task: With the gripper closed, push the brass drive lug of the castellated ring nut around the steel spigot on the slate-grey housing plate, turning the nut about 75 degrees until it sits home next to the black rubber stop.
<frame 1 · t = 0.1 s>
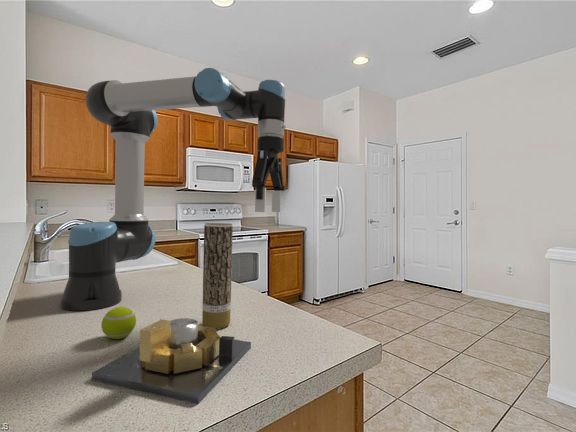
hand: (268, 212, 92), 28 cm above the counter, fingers open, 13 cm apart
bark textured cylinder: (216, 325, 79), on the counter
housing: (180, 362, 60), on the counter
tennis ball: (118, 338, 70), on the counter
ring nut: (176, 336, 58), point 5 cm above the counter, hinge at 0.0°
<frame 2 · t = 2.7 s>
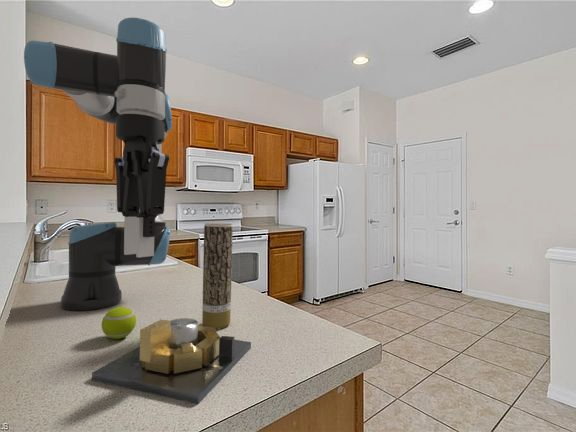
hand: (138, 254, 55), 21 cm above the counter, fingers open, 3 cm apart
nothing on the counter moved.
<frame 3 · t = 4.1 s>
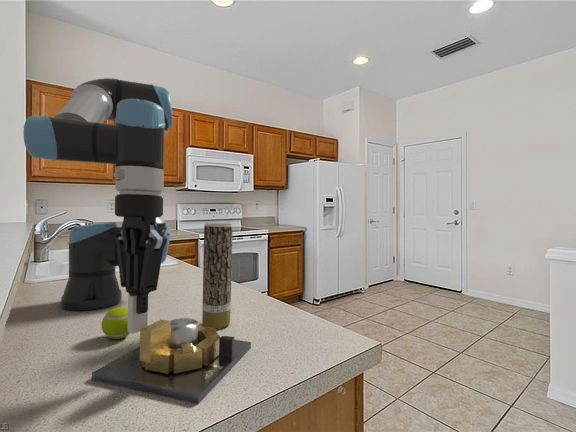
hand: (137, 330, 55), 7 cm above the counter, fingers closed
nothing on the counter moved.
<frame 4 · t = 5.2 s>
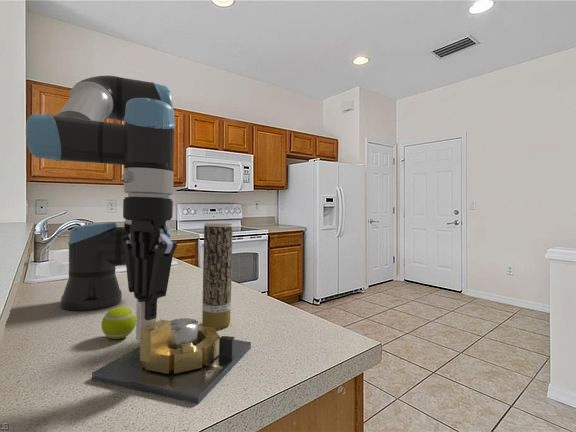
hand: (146, 337, 53), 7 cm above the counter, fingers closed
ring nut: (176, 336, 58), point 5 cm above the counter, hinge at 0.4°, touching gripper
everything else where it was.
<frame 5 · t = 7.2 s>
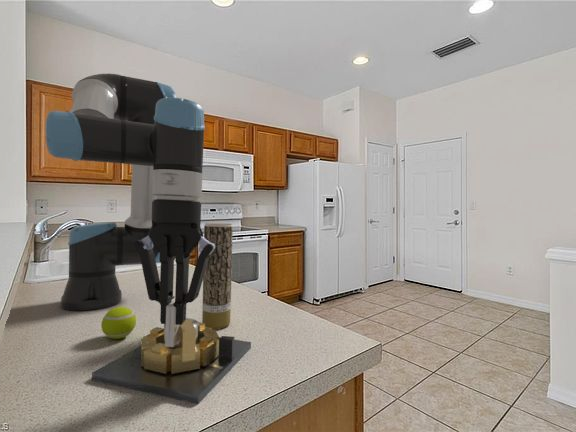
hand: (172, 343, 52), 7 cm above the counter, fingers closed
ring nut: (182, 336, 58), point 5 cm above the counter, hinge at 41.8°, touching gripper
everything else where it was.
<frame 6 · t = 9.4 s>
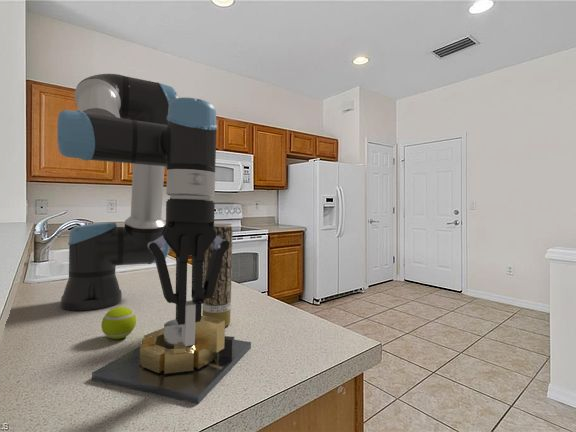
hand: (188, 342, 52), 7 cm above the counter, fingers closed
ring nut: (186, 334, 59), point 5 cm above the counter, hinge at 77.5°
everything else where it was.
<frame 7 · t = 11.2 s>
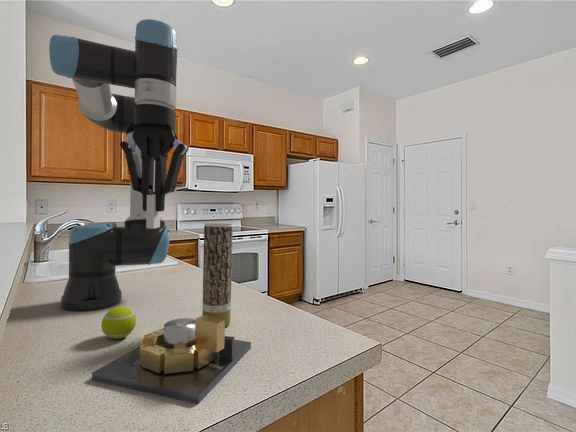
hand: (153, 227, 64), 25 cm above the counter, fingers closed
nothing on the counter moved.
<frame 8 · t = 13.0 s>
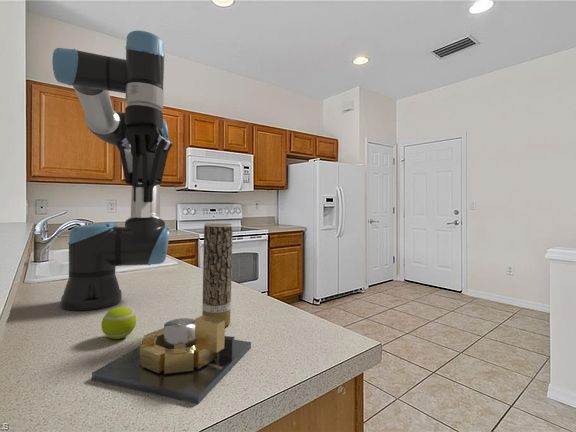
hand: (142, 217, 70), 26 cm above the counter, fingers closed
nothing on the counter moved.
at the end: ring nut at +78° (first picture: +0°); tennis ball moved 0.2 cm from its start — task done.
